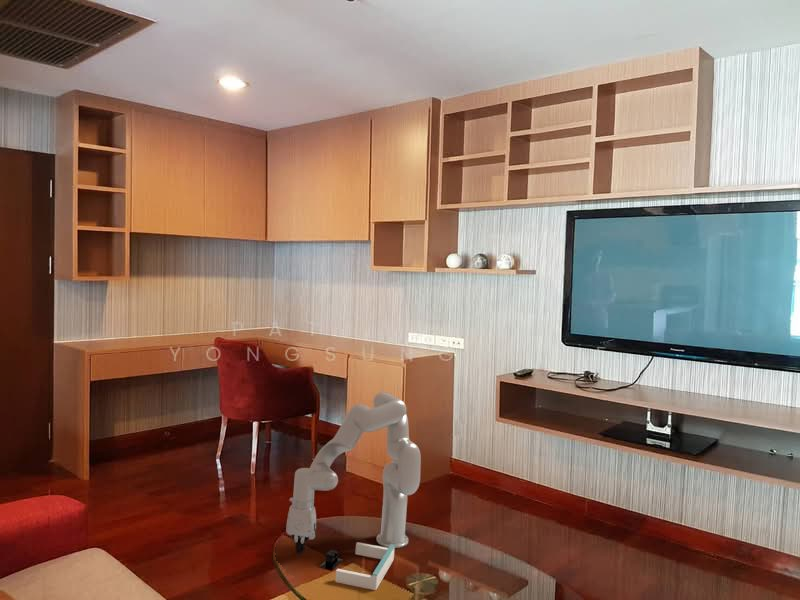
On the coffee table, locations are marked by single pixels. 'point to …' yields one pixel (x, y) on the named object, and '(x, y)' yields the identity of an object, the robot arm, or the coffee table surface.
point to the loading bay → (378, 574)
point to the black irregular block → (331, 561)
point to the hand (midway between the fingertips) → (299, 551)
